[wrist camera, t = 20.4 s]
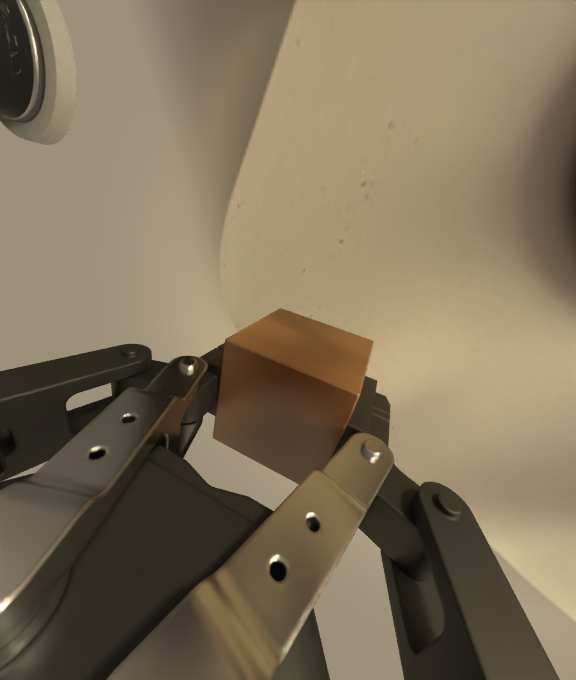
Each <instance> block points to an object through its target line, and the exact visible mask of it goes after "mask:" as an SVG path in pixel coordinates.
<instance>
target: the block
mask: <svg viewBox="0 0 576 680" xmlns="http://www.w3.org/2000/svg"><path fill="white" fill-rule="evenodd" d="M372 347H373V341H372V340H369V339H366V338H363V337H360V336H358V335H355V334H352V333H349V332H346V331H344V330H341V329H338V328H335V327H332V326H329V325H327V324H324V323H321V322H318V321H315V320H312V319H310V318H307V317H304V316H301V315H298V314H295V313H293V312H290V311H287V310H284V309H281V308H280V309H278V310H276V311H275V312H273V313H271V314H269V315H268V316H266V317H264V318H262V319H260V320H259V321H257V322H255V323H253V324H252V325H250V326H248V327H246V328H245V329H243V330H241V331H239V332H238V333H236V334H234V335H232V336H231V337H229V338H227V339H226V340H225V345H224V353H223V361H222V369H221V377H220V385H219V392H218V400H217V408H216V416H215V424H214V432H213V438H214V439H216V440H218V441H219V442H221V443H223V444H225V445H227V446H229V447H230V448H232V449H234V450H236V451H238V452H240V453H242V454H243V455H245V456H247V457H249V458H251V459H253V460H255V461H256V462H258V463H260V464H262V465H264V466H266V467H268V468H270V469H271V470H273V471H275V472H277V473H279V474H281V475H283V476H285V477H286V478H288V479H290V480H292V481H294V482H296V483H297V484H300V483H301V482H302V481H303V480H304V479H305V478H306V477H307V476H308V475H309V474H310V473H311V472H312V471H313V470H314V469H315V468H317V467H319V468H320V469H322V468H323V467H324V466H325V465H326V464H327V463H328V462H329V461H330V459H331V458H332V457H333V456H334V454H335V452H336V450H337V447H338V445H339V443H340V440H341V438H342V436H343V433H344V431H345V429H346V426H347V424H348V423H349V420H350V418H351V416H352V413H353V411H354V409H355V406H356V404H357V402H358V399H359V397H360V394H361V390H362V386H363V382H364V378H365V374H366V370H367V366H368V362H369V358H370V355H371V351H372Z"/></svg>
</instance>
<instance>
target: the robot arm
mask: <svg viewBox="0 0 576 680" xmlns="http://www.w3.org/2000/svg"><path fill="white" fill-rule="evenodd" d="M44 93H45V62H44V54H43V49H42V44H41V39H40V36H39V32H38V29H37V25H36V23H35V20H34V17H33V15H32V12H31V10H30V8H29V6H28V4H27V2H26V0H0V115H2V116H4V117H5V118H8V119H11V120H14V121H17V122H21V123H27V122H30V121H32V120H33V119H34V118H35V117H36V116H37V114H38V113H39V111H40V109H41V106H42V103H43V99H44ZM224 345H225V343H224V344H223V345H220V346H218V348H215V349H213V350H212V351H210V352H208V353H206V354H205V355H203V356H201V357H200V358H199V357H195V356H181V357H177V358H175V359H173V360H172V361H171V362H169V363H165V362H160V361H155V360H152V354H151V350H150V349H149V348H148V347H146V346H143V345H139V344H124V345H119V346H115V347H110V348H106V349H101V350H97V351H92V352H87V353H83V354H78V355H73V356H69V357H64V358H60V359H55V360H50V361H46V362H41V363H37V364H32V365H27V366H23V367H18V368H14V369H9V370H5V371H0V680H330V678H329V674H328V669H327V665H326V661H325V656H324V652H323V647H322V643H321V639H320V634H319V630H318V626H317V622H316V617H315V613H314V609H313V607H314V605H315V603H316V601H317V600H318V598H319V596H320V594H321V593H322V591H323V589H324V587H325V585H326V584H327V582H328V580H329V578H330V577H331V575H332V573H333V571H334V570H335V568H336V566H337V564H338V562H339V561H340V559H341V557H342V555H343V553H344V552H345V550H346V548H347V546H348V544H349V543H350V541H351V539H352V538H353V536H354V534H355V532H356V530H357V529H358V528H359V529H360V530H361V531H363V532H364V533H365V534H366V535H367V536H368V537H369V538H370V539H371V540H372V541H373V542H374V543H375V544H376V545H377V546H378V547H379V548H380V549H381V557H382V562H383V568H384V573H385V578H386V583H387V589H388V594H389V600H390V605H391V610H392V616H393V621H394V627H395V632H396V637H397V643H398V648H399V654H400V659H401V664H402V670H403V675H404V680H560V679H559V677H558V675H557V673H556V672H555V669H554V668H553V666H552V664H551V662H550V660H549V658H548V656H547V654H546V652H545V650H544V649H543V647H542V645H541V643H540V641H539V639H538V637H537V635H536V633H535V631H534V630H533V628H532V626H531V624H530V622H529V620H528V618H527V616H526V614H525V612H524V610H523V609H522V607H521V605H520V603H519V601H518V599H517V597H516V595H515V594H514V591H513V590H512V588H511V586H510V584H509V582H508V580H507V578H506V576H505V574H504V573H503V571H502V569H501V567H500V565H499V563H498V561H497V559H496V557H495V555H494V554H493V552H492V550H491V548H490V546H489V544H488V542H487V540H486V538H485V536H484V534H483V532H482V530H481V529H480V527H479V525H478V523H477V521H476V519H475V517H474V515H473V513H472V512H471V510H470V508H469V507H468V506H467V504H466V503H465V502H464V501H463V500H462V499H461V498H460V497H459V496H458V495H457V494H456V493H455V492H453V491H452V490H451V489H449V488H447V487H446V486H444V485H442V484H439V483H436V482H425V483H423V484H422V485H421V486H419V485H418V484H416V483H415V482H414V481H412V480H411V479H410V478H408V477H407V476H406V475H404V474H403V473H402V472H401V471H400V470H399V469H398V468H397V467H396V466H395V464H394V457H393V454H392V452H391V450H390V449H389V447H388V440H389V420H390V404H389V402H388V400H387V398H386V396H384V395H381V394H379V393H376V386H377V380H374V379H372V378H369V377H367V376H365V378H364V382H363V386H362V390H361V394H360V397H359V399H358V402H357V404H356V406H355V409H354V411H353V413H352V416H351V418H350V420H349V423H348V424H347V426H346V429H345V431H344V433H343V436H342V438H341V440H340V443H339V445H338V447H337V450H336V452H335V454H334V456H333V457H332V458H331V459H330V461H329V462H328V463H327V464H326V465H325V466H324V467H323V468H322V469H320V468H319V467H317V468H315V469H314V470H313V471H312V472H311V473H310V474H309V475H308V476H307V477H306V478H305V479H304V480H303V481H302V482H301V483H300V484H299V485H298V486H297V487H296V488H295V490H294V491H293V492H292V493H291V494H290V495H289V496H288V497H287V498H286V499H285V500H284V501H283V502H282V503H281V504H280V506H278V507H277V509H276V510H275V511H272V510H271V509H269V508H267V507H265V506H263V505H262V504H260V503H259V502H257V501H255V500H253V499H252V498H250V497H248V496H244V495H240V494H237V493H233V492H229V491H225V490H222V489H218V488H215V487H212V486H210V485H209V484H208V483H207V482H206V481H205V480H204V479H203V478H202V477H201V476H200V475H199V474H198V473H197V472H196V470H195V469H194V468H193V467H192V466H191V465H190V464H189V463H188V462H187V461H186V460H185V459H183V458H184V456H185V454H186V452H187V450H188V448H189V446H190V444H191V443H192V441H193V439H194V437H195V435H196V433H197V431H198V430H199V428H200V426H201V424H202V419H203V416H204V415H205V414H206V413H207V412H209V413H211V414H213V415H215V416H216V408H217V400H218V392H219V385H220V377H221V369H222V361H223V353H224ZM108 383H111V388H112V396H110V397H107V398H105V399H102V400H99V401H96V402H93V403H90V404H87V405H84V406H81V407H78V408H75V409H73V410H70V411H67V410H66V402H67V401H68V399H69V398H70V397H71V396H73V395H75V394H76V393H79V392H83V391H86V390H89V389H92V388H95V387H99V386H102V385H105V384H108ZM46 461H48V462H47V463H46V464H44V465H43V466H42V467H41V468H40V469H39V470H38V471H37V472H36V473H33V474H29V475H26V476H22V477H18V478H14V479H10V480H6V481H3V480H5V479H8V478H10V477H12V476H14V475H17V474H19V473H21V472H23V471H26V470H28V469H30V468H33V467H35V466H37V465H39V464H42V463H44V462H46ZM1 481H2V482H1Z"/></svg>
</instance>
